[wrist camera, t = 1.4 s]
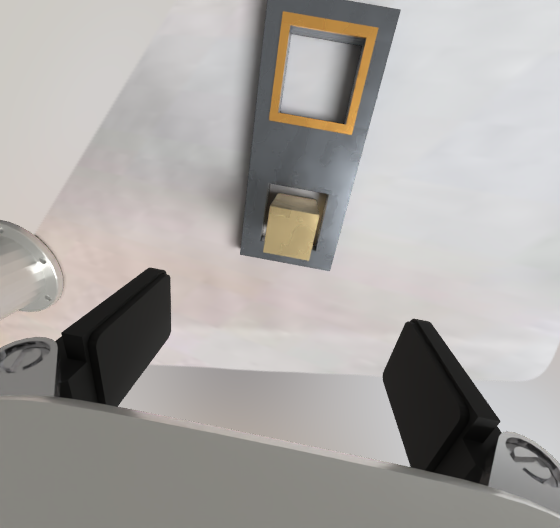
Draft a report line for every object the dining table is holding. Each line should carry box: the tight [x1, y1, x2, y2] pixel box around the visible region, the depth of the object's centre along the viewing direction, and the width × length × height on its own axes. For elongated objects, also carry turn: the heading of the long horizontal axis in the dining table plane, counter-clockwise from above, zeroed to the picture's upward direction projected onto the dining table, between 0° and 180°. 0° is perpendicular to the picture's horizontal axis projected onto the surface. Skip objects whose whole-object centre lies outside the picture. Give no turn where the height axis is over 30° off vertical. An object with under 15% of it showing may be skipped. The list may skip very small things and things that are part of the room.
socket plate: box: [240, 0, 400, 271], centre depth 25 cm, size 22×10×2 cm, turn 171°
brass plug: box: [263, 193, 319, 261], centre depth 25 cm, size 4×4×7 cm
